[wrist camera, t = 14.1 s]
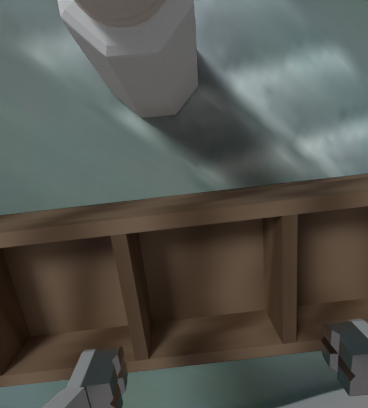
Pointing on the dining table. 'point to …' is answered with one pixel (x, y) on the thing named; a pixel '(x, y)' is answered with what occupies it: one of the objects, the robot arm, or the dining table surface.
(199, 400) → the dining table surface
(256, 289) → the spice rack
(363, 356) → the robot arm
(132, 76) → the salt shaker
